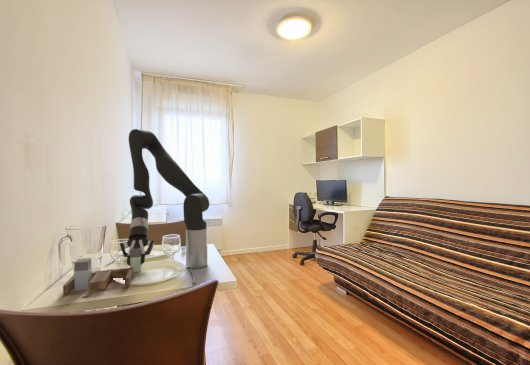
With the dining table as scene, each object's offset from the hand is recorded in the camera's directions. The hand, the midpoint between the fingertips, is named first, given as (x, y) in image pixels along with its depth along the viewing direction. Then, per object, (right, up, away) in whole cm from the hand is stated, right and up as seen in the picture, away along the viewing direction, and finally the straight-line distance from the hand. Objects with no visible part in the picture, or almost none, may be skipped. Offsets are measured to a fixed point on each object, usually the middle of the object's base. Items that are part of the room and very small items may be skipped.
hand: (135, 264), depth 106 cm
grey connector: (-11, -4, -15) cm, 19 cm away
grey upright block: (-1, -4, +2) cm, 5 cm away
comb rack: (-6, -5, -13) cm, 15 cm away
